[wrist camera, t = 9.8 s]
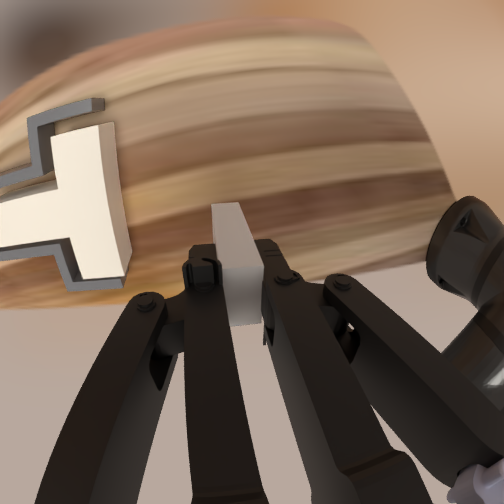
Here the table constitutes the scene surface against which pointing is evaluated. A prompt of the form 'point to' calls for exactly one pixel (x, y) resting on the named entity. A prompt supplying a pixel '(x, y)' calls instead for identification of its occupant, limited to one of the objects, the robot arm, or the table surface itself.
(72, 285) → the t bay
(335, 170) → the table surface
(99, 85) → the table surface
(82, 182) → the t block
